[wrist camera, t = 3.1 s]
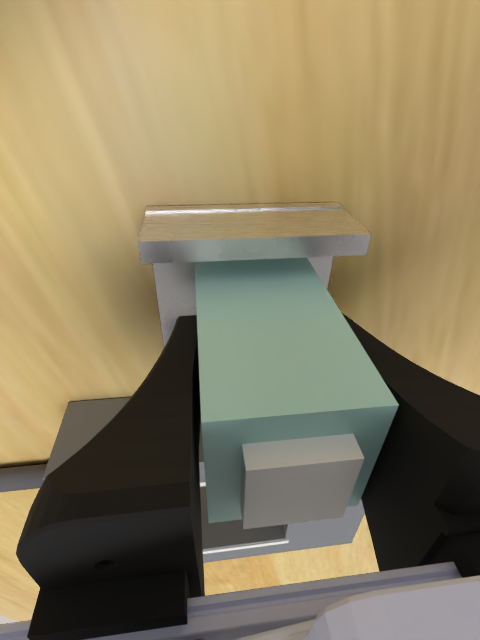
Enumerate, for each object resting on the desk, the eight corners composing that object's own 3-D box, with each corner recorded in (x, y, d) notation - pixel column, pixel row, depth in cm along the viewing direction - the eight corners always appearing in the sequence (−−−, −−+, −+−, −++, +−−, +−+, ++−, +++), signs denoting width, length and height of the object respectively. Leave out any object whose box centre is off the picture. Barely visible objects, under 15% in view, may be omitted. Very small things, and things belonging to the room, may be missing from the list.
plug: (305, 255, 13) (414, 429, 7) (294, 341, 15) (367, 528, 9) (194, 259, 12) (202, 450, 6) (199, 347, 15) (209, 549, 9)
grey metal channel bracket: (337, 202, 13) (371, 232, 11) (312, 346, 17) (333, 391, 15) (146, 206, 13) (137, 240, 10) (166, 356, 17) (163, 406, 14)
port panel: (360, 378, 19) (400, 449, 16) (329, 481, 25) (353, 550, 21) (68, 402, 17) (39, 487, 14) (108, 506, 23) (95, 585, 20)
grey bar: (91, 454, 20) (86, 474, 19) (95, 467, 21) (91, 487, 20) (-88, 472, 19) (-103, 494, 18) (-77, 484, 20) (-91, 506, 19)
